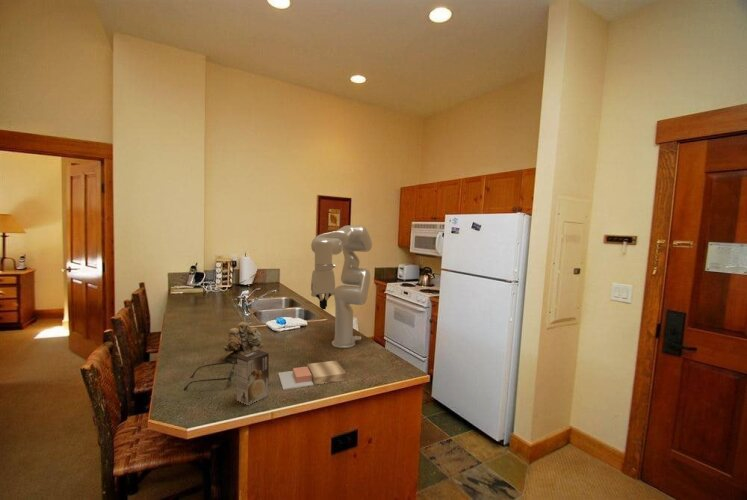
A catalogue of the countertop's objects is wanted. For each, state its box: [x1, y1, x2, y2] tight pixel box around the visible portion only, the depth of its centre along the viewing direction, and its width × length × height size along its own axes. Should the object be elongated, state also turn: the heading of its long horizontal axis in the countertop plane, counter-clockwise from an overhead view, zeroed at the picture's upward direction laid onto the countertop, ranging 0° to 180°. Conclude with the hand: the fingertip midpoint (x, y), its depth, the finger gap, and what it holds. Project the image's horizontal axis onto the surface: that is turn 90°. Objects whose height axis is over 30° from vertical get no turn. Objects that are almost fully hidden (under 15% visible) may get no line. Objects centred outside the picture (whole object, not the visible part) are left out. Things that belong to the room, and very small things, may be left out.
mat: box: [278, 370, 315, 391], centre depth 136 cm, size 12×15×1 cm
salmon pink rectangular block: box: [292, 365, 313, 383], centre depth 137 cm, size 6×9×2 cm, turn 22°
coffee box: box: [236, 349, 270, 406], centre depth 120 cm, size 9×6×16 cm
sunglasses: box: [183, 361, 236, 391], centre depth 132 cm, size 16×17×5 cm
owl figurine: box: [222, 321, 265, 365], centre depth 156 cm, size 18×12×17 cm, turn 129°
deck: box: [306, 360, 347, 386], centre depth 141 cm, size 13×14×3 cm
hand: (323, 308), depth 149 cm, fingers closed
